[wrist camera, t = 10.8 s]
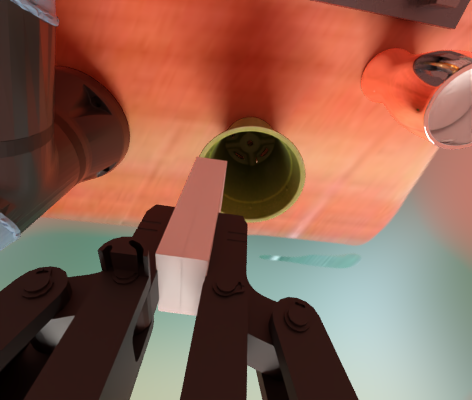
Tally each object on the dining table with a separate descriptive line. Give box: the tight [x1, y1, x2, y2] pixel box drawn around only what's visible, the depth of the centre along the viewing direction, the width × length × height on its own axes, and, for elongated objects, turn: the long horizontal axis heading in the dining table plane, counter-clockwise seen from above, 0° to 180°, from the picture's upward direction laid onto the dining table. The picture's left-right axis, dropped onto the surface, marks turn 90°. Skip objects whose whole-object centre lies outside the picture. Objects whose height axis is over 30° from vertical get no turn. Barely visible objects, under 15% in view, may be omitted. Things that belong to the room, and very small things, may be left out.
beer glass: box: [361, 48, 472, 149], centre depth 26 cm, size 7×7×15 cm
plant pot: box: [199, 117, 305, 222], centre depth 33 cm, size 12×12×11 cm
